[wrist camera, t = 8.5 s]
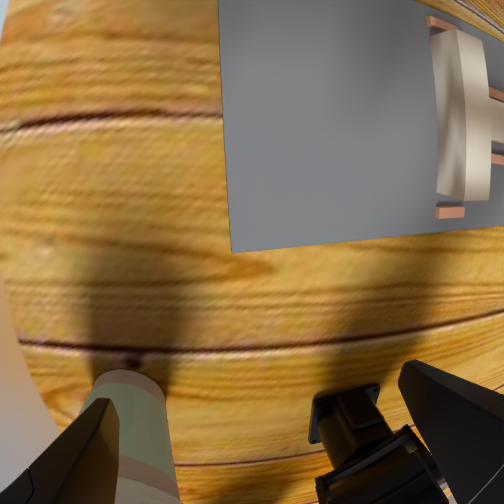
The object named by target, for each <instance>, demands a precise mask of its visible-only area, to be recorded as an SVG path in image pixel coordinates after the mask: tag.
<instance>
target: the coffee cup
mask: <svg viewBox="0 0 504 504" xmlns="http://www.w3.org/2000/svg"><path fill="white" fill-rule="evenodd" d="M99 397H101V398H110V399H111V400H112V401H113V404H114V406H115V409H116V411H117V414H118V417H119V421H120V429H119V470H118V479H117V487H116V497H115V504H183V503H182V502H180V497H179V492H178V486H177V480H176V474H175V468H174V462H173V456H172V449H171V442H170V435H169V428H168V420H167V412H166V403H165V396H164V394H163V391H162V390H161V388H160V387H159V386H158V385H157V384H156V383H155V382H154V381H153V380H151V379H150V378H148V377H147V376H145V375H143V374H140V373H138V372H134V371H130V370H122V369H118V370H111V371H108V372H105V373H103V374H102V375H100V376H99V377H98V378H97V380H96V381H95V383H94V385H93V387H92V389H91V391H90V393H89V395H88V397H87V399H86V401H85V403H84V405H83V407H82V409H81V411H80V413H79V415H80V414H81V413H82V412H83V411H84V410H85V409H86V408H87V407H88V406H89V405H90V404H91V403H92V402H93V401H94V400H95V399H97V398H99ZM79 415H78V416H79Z"/></svg>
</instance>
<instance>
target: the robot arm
mask: <svg viewBox="0 0 504 504" xmlns="http://www.w3.org/2000/svg"><path fill="white" fill-rule="evenodd" d="M398 387H399V390H400V392H401V394H402V396H403V399H404V401H405V403H406V406H407V408H408V410H409V413H410V415H411V417H412V419H413V422H414V423H415V425H416V427H417V429H418V431H419V433H420V434H421V436H422V438H423V440H424V442H425V443H426V445H427V447H428V449H429V451H430V452H429V451H428V450H427V448H426V447H425V446H424V444H423V443H422V442H421V441H420V439H419V438H418V437H417V436H416V434H415V433H414V432H413V431H412V429H411V428H410V427H409V426H408V424H406V425H405V426H403V427H402V429H400V430H399V431H398V432H396V433H395V434H394V433H393V431H392V430H391V428H390V427H389V425H388V424H387V422H386V421H385V419H384V416H383V415H382V413H381V412H380V410H379V409H378V408H377V406H376V402H377V399H378V395H379V392H380V386H379V384H378V383H374V384H371V385H367V386H364V387H360V388H357V389H353V390H349V391H346V392H342V393H338V394H334V395H330V396H326V397H321V398H318V399H315V400H314V401H313V403H312V412H311V421H310V429H309V437H308V441H309V443H310V444H316V443H320V442H322V444H323V446H324V448H325V450H326V453H327V455H328V457H329V459H330V462H331V464H332V466H333V468H334V470H333V471H331V472H329V473H327V474H325V475H323V476H319V477H317V478H315V482H316V492H317V496H318V500H319V504H449V501H448V499H447V497H446V495H445V494H444V492H443V491H442V489H441V487H440V486H439V483H440V482H442V481H443V480H445V481H446V483H447V485H448V487H449V488H450V490H451V492H452V494H453V496H454V498H455V500H456V502H457V504H504V395H503V394H499V393H498V392H495V391H493V390H490V389H488V388H485V387H482V386H480V385H477V384H475V383H472V382H470V381H467V380H465V379H462V378H460V377H457V376H455V375H452V374H450V373H447V372H445V371H443V370H440V369H438V368H435V367H433V366H430V365H428V364H426V363H423V362H421V361H418V360H410V361H407V362H405V363H404V364H403V366H402V370H401V373H400V376H399V379H398ZM119 429H120V421H119V417H118V414H117V411H116V409H115V406H114V404H113V401H112V400H111V399H110V398H101V397H99V398H97V399H95V400H94V401H93V402H92V403H91V404H90V405H89V406H88V407H87V408H86V409H85V410H84V411H83V412H82V413H81V414H80V415H79V416H78V417H77V418H76V419H75V420H74V421H73V422H72V423H71V424H70V425H69V426H68V427H67V428H66V429H65V430H64V431H63V432H62V433H61V434H60V435H59V436H58V438H57V439H55V441H53V443H52V444H51V445H50V446H49V447H48V448H47V449H46V450H45V451H44V452H43V453H42V454H41V455H40V456H39V457H38V458H37V459H36V460H35V461H34V462H33V463H32V464H31V465H30V466H29V469H28V468H27V469H26V470H25V471H24V472H23V473H22V474H21V475H20V476H19V477H18V478H17V479H16V480H14V481H13V482H12V484H10V485H9V486H8V487H7V488H6V489H4V490H3V491H2V492H1V493H0V504H115V497H116V487H117V479H118V470H119ZM412 451H413V452H412ZM409 453H410V454H409ZM431 454H432V455H431Z"/></svg>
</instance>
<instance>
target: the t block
mask: <svg viewBox="0 0 504 504" xmlns="http://www.w3.org/2000/svg"><path fill="white" fill-rule="evenodd" d="M429 39H430V45H431V52H432V60H433V69H434V78H435V90H436V104H437V127H438V170H437V193H440V194H443V195H447V196H450V197H454V198H457V199H460V200H464V201H485V200H489V192H490V176H491V142H496V143H500V144H504V103H502V102H500V101H497V100H494V99H492V98H489V87H488V78H487V70H486V62H485V56H484V50H483V44H482V41H481V40H479V39H477V38H475V37H473V36H471V35H469V34H467V33H465V32H462V31H460V30H458V29H456V28H455V29H452V30H448V31H445V32H442V33H439V34H435V35H432V36H429Z"/></svg>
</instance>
